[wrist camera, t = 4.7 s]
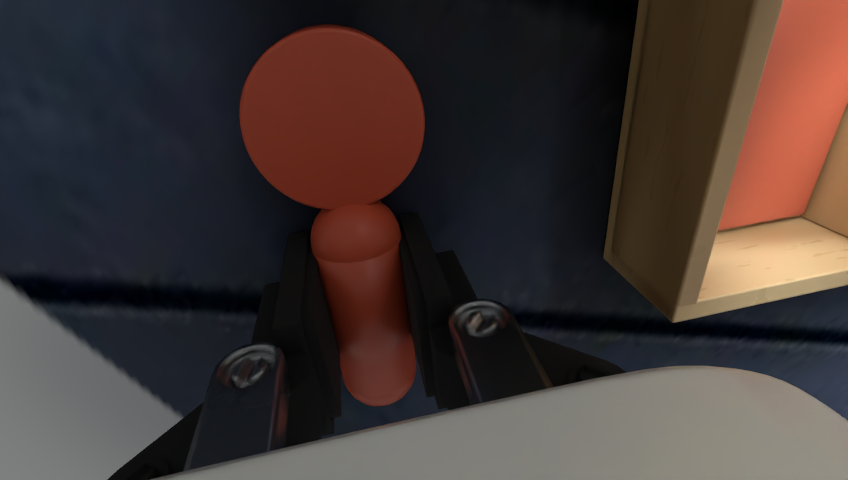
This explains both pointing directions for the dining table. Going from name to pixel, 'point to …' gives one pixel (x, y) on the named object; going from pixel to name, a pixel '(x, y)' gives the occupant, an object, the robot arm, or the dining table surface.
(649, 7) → the caddy
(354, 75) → the red knob peg
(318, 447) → the robot arm
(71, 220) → the dining table surface
